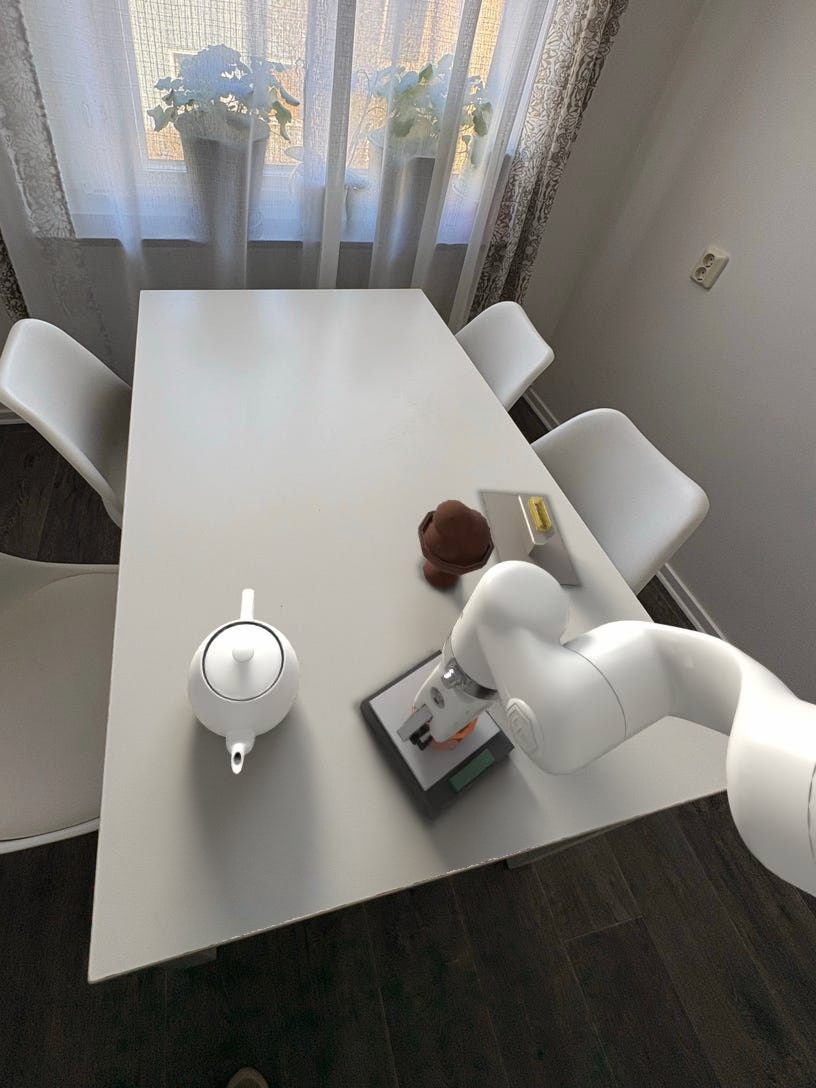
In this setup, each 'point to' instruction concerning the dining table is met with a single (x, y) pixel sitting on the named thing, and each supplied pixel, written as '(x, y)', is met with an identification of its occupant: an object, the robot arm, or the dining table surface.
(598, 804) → the dining table surface
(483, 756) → the scale
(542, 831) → the dining table surface
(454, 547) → the ice cream bowl
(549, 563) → the platform
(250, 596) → the teapot
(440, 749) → the dip bowl
